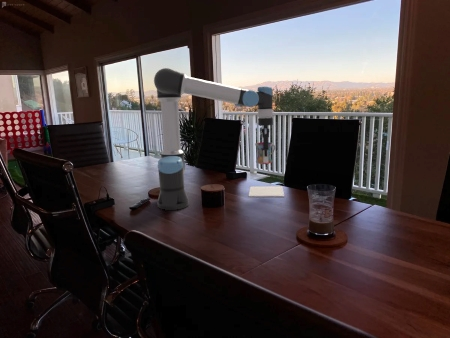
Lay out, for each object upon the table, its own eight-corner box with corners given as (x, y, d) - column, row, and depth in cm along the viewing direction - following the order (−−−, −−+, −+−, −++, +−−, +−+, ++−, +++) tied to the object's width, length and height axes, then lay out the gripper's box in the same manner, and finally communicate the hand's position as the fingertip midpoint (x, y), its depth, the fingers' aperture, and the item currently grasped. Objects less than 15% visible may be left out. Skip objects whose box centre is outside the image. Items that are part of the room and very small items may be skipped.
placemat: (284, 196, 163) (284, 195, 163) (248, 196, 165) (248, 195, 165) (282, 187, 180) (282, 186, 180) (250, 187, 183) (250, 186, 183)
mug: (262, 165, 163) (262, 145, 161) (251, 163, 171) (251, 143, 169) (280, 162, 169) (280, 142, 167) (269, 160, 177) (269, 141, 175)
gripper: (273, 118, 154) (273, 164, 159) (272, 116, 174) (272, 157, 179) (257, 119, 155) (258, 165, 159) (258, 116, 175) (259, 157, 180)
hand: (265, 160), depth 169 cm, fingers closed on mug, 8 cm apart
